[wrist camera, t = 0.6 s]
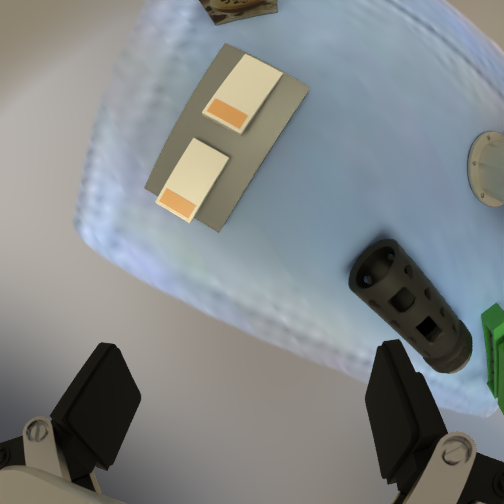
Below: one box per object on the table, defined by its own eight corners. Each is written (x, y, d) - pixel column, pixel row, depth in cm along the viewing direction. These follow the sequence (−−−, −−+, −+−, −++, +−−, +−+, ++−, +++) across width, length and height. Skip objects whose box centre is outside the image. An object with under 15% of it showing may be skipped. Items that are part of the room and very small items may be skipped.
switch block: (230, 51, 32) (223, 40, 27) (307, 92, 33) (311, 86, 29) (156, 182, 40) (140, 189, 36) (224, 223, 42) (216, 235, 37)
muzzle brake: (384, 226, 39) (410, 253, 30) (461, 320, 44) (484, 353, 35) (340, 269, 43) (353, 307, 33) (426, 351, 48) (443, 387, 38)
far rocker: (195, 139, 33) (193, 137, 32) (229, 159, 34) (229, 157, 32) (157, 202, 34) (154, 202, 33) (191, 222, 35) (189, 223, 34)
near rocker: (245, 58, 29) (245, 53, 27) (281, 77, 29) (283, 72, 28) (203, 115, 30) (201, 112, 28) (240, 136, 30) (240, 133, 29)
